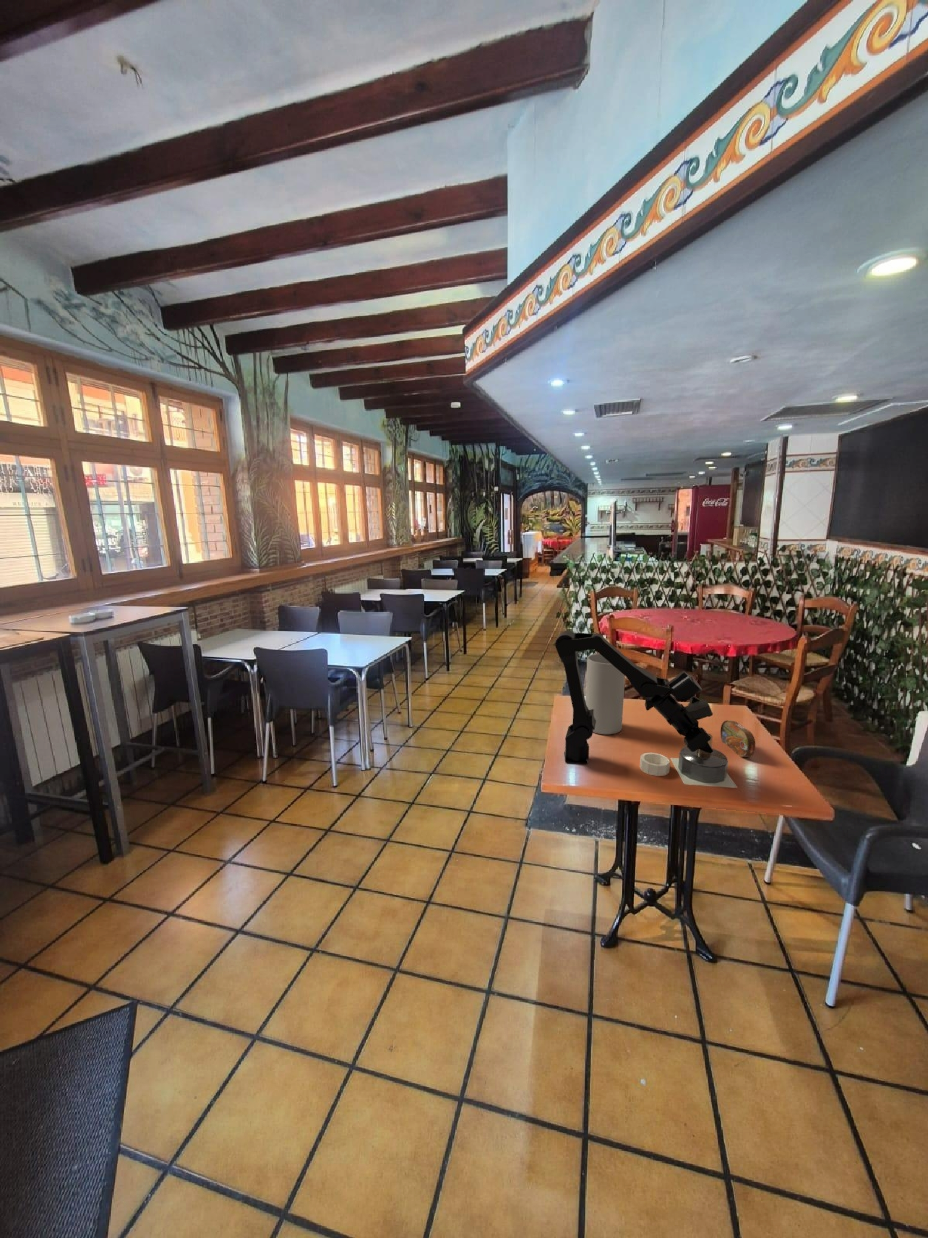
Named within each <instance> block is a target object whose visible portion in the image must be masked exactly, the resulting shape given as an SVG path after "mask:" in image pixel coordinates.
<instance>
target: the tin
mask: <svg viewBox="0 0 928 1238" xmlns="http://www.w3.org/2000/svg"><path fill="white" fill-rule="evenodd" d="M719 732H720V738H721V742H722V743H724V744H725V745H726V746H728V748H730V749H731V750H732V751H733V752H734V753H735V754H736V755H738V757H740V758H750V757H753V755H754V753H755V749H756V739H755V736H754V735H753V733H752V732H751V731H750V730H748V729H747V728H746V727H744V726H743V725H741V724H740V723H739V722H737V721H734V720H727V719H726V720H724V721H723V722H722V724H721V726H720V731H719Z"/></svg>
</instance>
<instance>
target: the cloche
mask: <svg viewBox="0 0 928 1238" xmlns="http://www.w3.org/2000/svg"><path fill="white" fill-rule="evenodd" d="M708 734H709V736H710V737H711V739H710V740H709V741H708V744H709V745H710V747H711V748H712V750H713V752H712V753H707V752H705V751H702V750H699V749H697V750H696V751H695V752H692V751H691V750H690V749H689V748H688V747H687V746H686V745H685V746H683V747H681V749H680V752H679V754H678V755H679V757H678V758H679V765H678V768H679V770H680V772H681V773H682V774H683V775H685V776H686V777H688V778H690V779H692V780H696V781H699V782H702V783H719V782H722V781H724V780H725V778H726V775H727V774H728V765H729V760H728V757H727V756H726V754H724V753H723V752H722V751H719V750H717V749H714V748H713V747H712V746H713V738H714V736H713V735H712V734H711V733H708Z"/></svg>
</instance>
